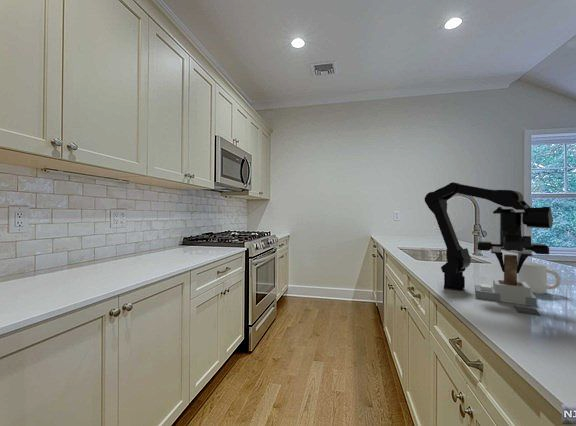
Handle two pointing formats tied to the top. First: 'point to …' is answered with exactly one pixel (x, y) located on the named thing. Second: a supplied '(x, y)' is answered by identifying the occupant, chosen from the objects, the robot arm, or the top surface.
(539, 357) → the top surface
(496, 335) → the top surface
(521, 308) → the pad
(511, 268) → the dowel
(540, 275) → the mug
